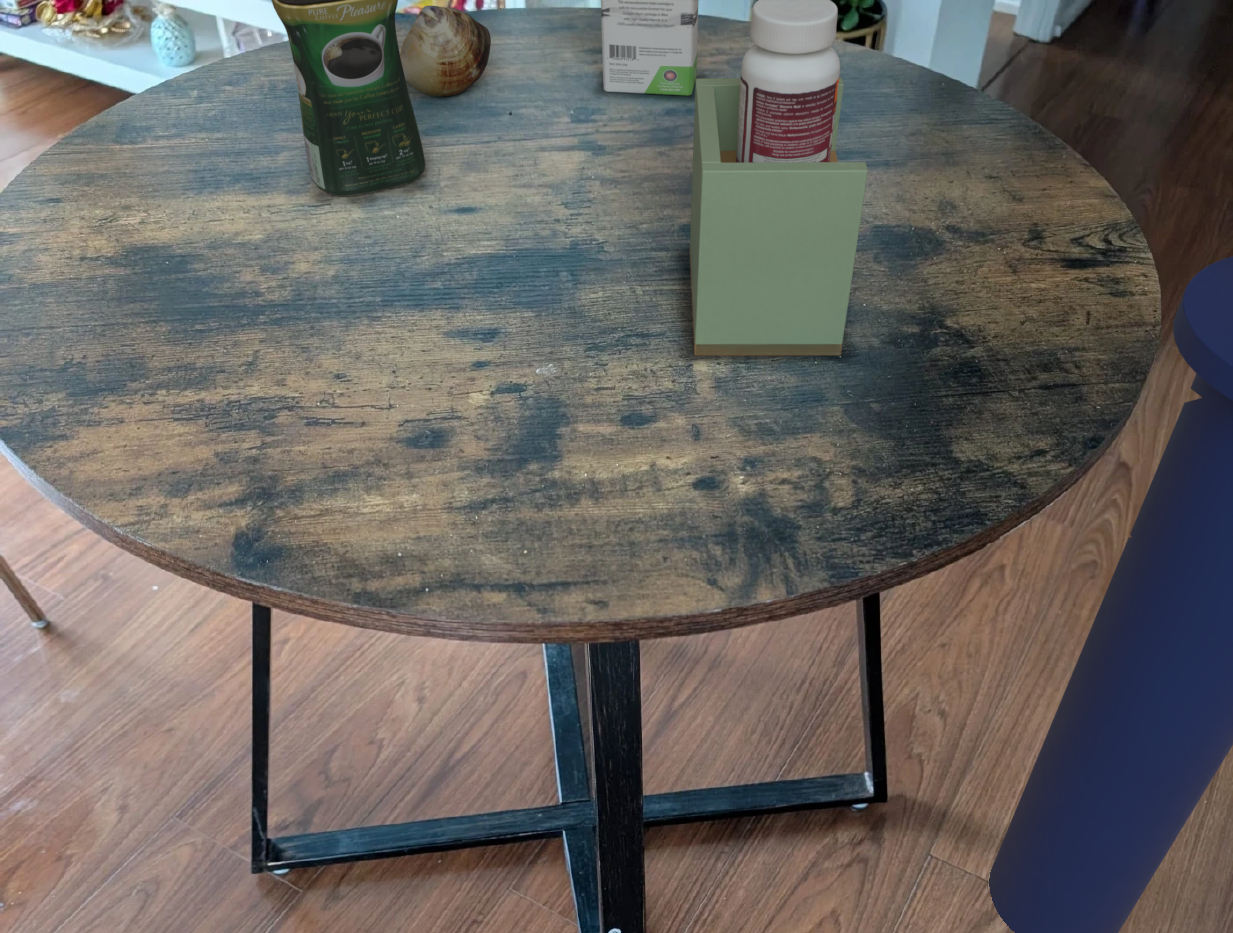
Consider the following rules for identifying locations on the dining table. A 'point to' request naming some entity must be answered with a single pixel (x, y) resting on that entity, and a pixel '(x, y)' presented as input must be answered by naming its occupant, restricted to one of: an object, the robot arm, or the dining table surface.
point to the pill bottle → (789, 83)
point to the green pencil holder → (768, 240)
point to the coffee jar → (352, 94)
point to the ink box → (649, 46)
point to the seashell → (444, 51)
